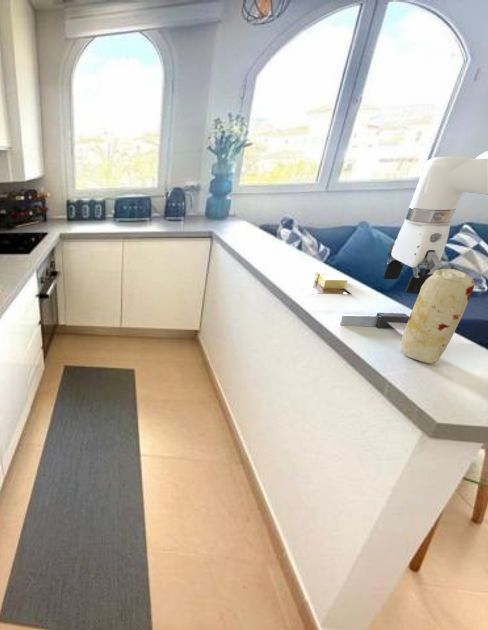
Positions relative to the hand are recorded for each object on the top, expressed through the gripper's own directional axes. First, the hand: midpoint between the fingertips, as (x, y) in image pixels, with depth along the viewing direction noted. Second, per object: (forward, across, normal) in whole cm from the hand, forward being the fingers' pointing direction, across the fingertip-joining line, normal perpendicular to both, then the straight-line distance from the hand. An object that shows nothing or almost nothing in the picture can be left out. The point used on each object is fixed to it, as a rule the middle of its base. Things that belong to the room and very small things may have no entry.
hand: (401, 285), depth 86 cm
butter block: (+10, +25, +4) cm, 27 cm away
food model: (+12, -15, +1) cm, 19 cm away
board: (+12, +26, +6) cm, 29 cm away
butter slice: (+10, +30, +4) cm, 32 cm away
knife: (+12, -1, +2) cm, 12 cm away
